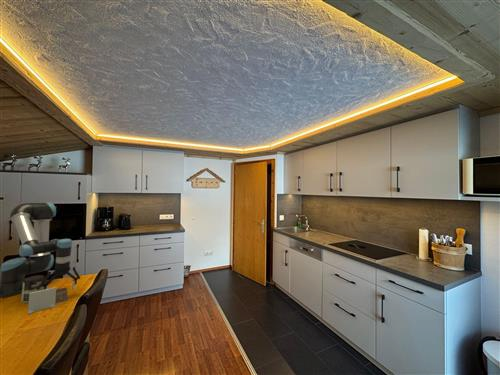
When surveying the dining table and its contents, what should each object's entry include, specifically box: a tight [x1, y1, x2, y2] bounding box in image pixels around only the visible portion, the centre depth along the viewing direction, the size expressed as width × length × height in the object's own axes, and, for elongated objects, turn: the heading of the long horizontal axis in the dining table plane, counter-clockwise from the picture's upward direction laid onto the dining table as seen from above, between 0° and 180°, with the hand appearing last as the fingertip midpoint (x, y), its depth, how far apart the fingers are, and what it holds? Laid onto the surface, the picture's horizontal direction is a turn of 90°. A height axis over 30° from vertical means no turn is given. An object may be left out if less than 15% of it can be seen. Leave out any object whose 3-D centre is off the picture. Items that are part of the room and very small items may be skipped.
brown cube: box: [55, 287, 68, 302], centre depth 139 cm, size 6×6×6 cm
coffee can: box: [20, 274, 45, 303], centre depth 139 cm, size 10×10×14 cm
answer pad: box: [55, 295, 69, 304], centre depth 139 cm, size 8×8×1 cm
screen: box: [27, 286, 57, 315], centre depth 128 cm, size 5×12×12 cm, turn 138°
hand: (60, 292), depth 140 cm, fingers open, 13 cm apart
